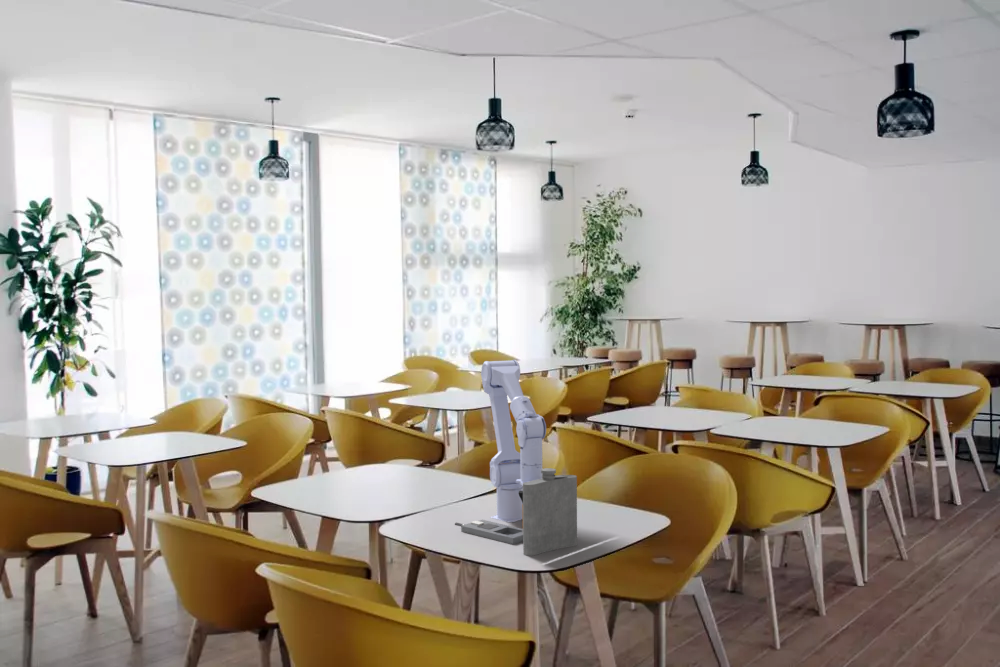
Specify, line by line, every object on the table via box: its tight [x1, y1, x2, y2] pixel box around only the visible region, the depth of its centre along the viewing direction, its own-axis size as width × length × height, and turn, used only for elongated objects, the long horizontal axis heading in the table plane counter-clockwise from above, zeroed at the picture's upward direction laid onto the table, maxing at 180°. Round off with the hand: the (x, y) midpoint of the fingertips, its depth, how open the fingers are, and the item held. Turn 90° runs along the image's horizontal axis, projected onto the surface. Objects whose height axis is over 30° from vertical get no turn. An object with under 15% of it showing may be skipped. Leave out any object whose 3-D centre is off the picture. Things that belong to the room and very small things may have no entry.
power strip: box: [454, 519, 523, 545], centre depth 232 cm, size 8×24×2 cm, turn 47°
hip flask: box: [522, 467, 578, 557], centre depth 217 cm, size 16×4×20 cm, turn 126°
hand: (531, 515), depth 233 cm, fingers open, 6 cm apart
